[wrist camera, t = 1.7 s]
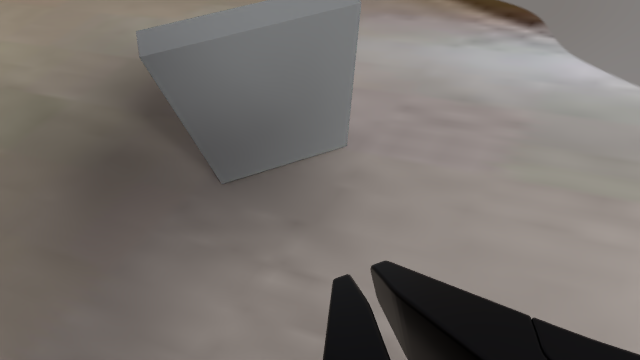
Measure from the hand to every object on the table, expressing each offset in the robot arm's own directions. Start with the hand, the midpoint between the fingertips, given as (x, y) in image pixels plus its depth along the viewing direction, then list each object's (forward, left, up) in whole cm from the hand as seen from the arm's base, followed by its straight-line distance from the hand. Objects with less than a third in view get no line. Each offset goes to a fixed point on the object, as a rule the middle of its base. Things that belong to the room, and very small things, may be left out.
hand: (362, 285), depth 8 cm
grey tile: (+11, -5, -14) cm, 19 cm away
